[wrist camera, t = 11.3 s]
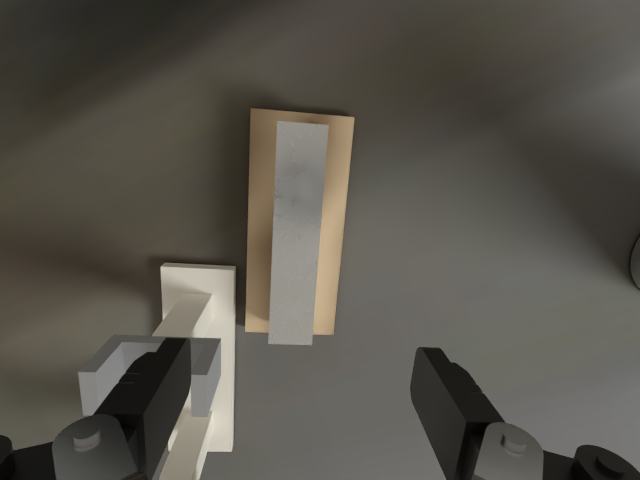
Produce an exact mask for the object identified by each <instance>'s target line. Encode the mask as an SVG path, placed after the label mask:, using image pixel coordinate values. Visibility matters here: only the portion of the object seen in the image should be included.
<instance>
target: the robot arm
mask: <svg viewBox="0 0 640 480" xmlns="http://www.w3.org/2000/svg"><path fill="white" fill-rule="evenodd" d="M631 274H632V278H633V280H634V282H635V284H636V286H637V287H638V288H639V289H640V237H639V239H638V240H637V242H636V244H635V247H634V249H633V252H632V257H631ZM190 386H191V342H190V339H189V338H172V337H167V338H165V339H164V341H163V342H162V343H161V345H160V346H159V348H158V349H157V351H156V352H146V353H145V354H143V355H142V356H140V357H139V358H137V359H136V360H134V361H133V363H132V364H131V365H130V367H129V368H128V369H127V371H126V372H125V374H123V376H122V377H121V378H120V380H119V382H118V383H117V384H116V385H115V386H114V388H113V389H112V390H111V392H110V393H109V394H108V395H107V397H106V398H105V399H104V401H103V402H102V403H101V405H100V406H99V407H98V409H97V410H96V411H95V413H94V414H93V415H92V416H88V417H85V418H82V419H80V420H77V421H75V422H73V423H72V424H70V425H69V426H67V427H66V428H64V429H63V430H62V431H61V432H60V433H59V434H58V435H57V437H56V438H55V440H54V441H53V442H50V443H46V444H41V445H37V446H32V447H28V448H23V449H19V450H14V451H13V448H12V442H11V440H10V439H9V438H8V437H5V436H2V435H0V480H151V479H152V477H153V475H154V473H155V470H156V468H157V466H158V464H159V461H160V459H161V457H162V454H163V452H164V450H165V448H166V445H167V443H168V441H169V438H170V436H171V434H172V432H173V429H174V427H175V425H176V423H177V420H178V418H179V416H180V413H181V411H182V409H183V407H184V404H185V402H186V400H187V397H188V395H189V391H190ZM410 392H411V399H412V402H413V405H414V407H415V409H416V412H417V414H418V416H419V418H420V421H421V423H422V425H423V428H424V430H425V432H426V434H427V437H428V439H429V441H430V443H431V446H432V448H433V450H434V452H435V455H436V457H437V459H438V461H439V464H440V466H441V468H442V470H443V473H444V475H445V477H446V479H447V480H640V473H639V472H638V471H637V470H636V469H635V468H634V467H633V466H632V465H631V464H630V463H629V462H627V461H626V460H624V459H623V458H622V457H620V456H618V455H617V454H615V453H613V452H611V451H609V450H606V449H604V448H601V447H598V446H594V445H582V446H580V447H578V448H577V450H576V453H575V456H574V459H573V458H570V457H566V456H562V455H558V454H555V453H551V452H547V451H544V450H542V448H541V446H540V444H539V443H538V442H537V441H536V440H535V438H534V437H532V436H531V435H530V434H529V433H527V432H526V431H524V430H523V429H521V428H519V427H517V426H514V425H512V424H508V423H505V421H504V420H503V419H502V417H501V416H500V415H499V413H498V412H497V410H496V409H495V408H494V406H493V405H492V404H491V402H490V401H489V400H488V398H487V397H486V396H485V394H483V393H482V390H481V389H480V388H479V386H478V385H476V382H475V381H474V380H473V378H472V377H471V376H470V374H469V373H468V372H467V371H466V370H464V369H463V368H462V367H460V366H459V365H458V364H456V363H451V362H450V361H449V359H448V358H447V357H446V355H445V354H444V352H443V351H442V350H441V349H440V348H429V347H419V348H418V349H417V351H416V355H415V361H414V367H413V373H412V379H411V385H410Z"/></svg>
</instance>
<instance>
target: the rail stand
mask: <svg viewBox="0 0 640 480" xmlns="http://www.w3.org/2000/svg"><path fill="white" fill-rule="evenodd" d="M161 289H162V312H163V321H162V322H161V324H160V325H159V326H158V328H157V329H156V330H155V332H154V333H153V334H152V336H133V335H113V336H112V337H111V338H110V339H109V340H108V341H107V342H106V343H105V344H104V345H103V346H102V348H101V349H100V350H99V351H98V352H97V353H96V354H95V355H94V356H93V357H92V358H91V359H90V360H89V361H88V362H87V363H86V364H85V365H84V366H83V367H82V368H81V370H80V371H79V372H78V375H79V384H80V392H81V401H82V409H83V415H93V414H94V413H95V411H96V410H97V409H98V407H99V406H100V405H101V403H102V402H103V401H104V399H105V398H106V397H107V395H108V394H109V393H110V392H111V390H112V389H113V388H114V386H115V385H116V384H117V383H118V382H119V380H120V378H121V377H122V376H123V374H125V372H126V371H127V369H128V368H129V367H130V365H131V364H132V363H133V361H134V360H136V359H137V358H139V357H140V356H142V355H143V354H145V353H146V352H156V351H157V349H158V348H159V346H160V345H161V343H162V342H163V341H164V339H165V338H167V337H172V338H189V339H190V342H191V386H190V391H189V395H188V397H187V400H186V402H185V404H184V407H183V409H182V411H181V413H180V416H179V418H178V420H177V423H176V425H175V427H174V429H173V432H172V434H171V436H170V438H169V441H168V448H169V451H170V453H169V455H168V458H167V460H166V463H165V465H164V468H163V470H162V473H161V475H160V477H159V480H199V478H200V475H201V471H202V468H203V464H204V461H205V458H206V454H207V451H218V452H232V447H233V429H234V365H235V301H236V266H222V265H202V264H182V263H164V264H163V265H162V266H161Z"/></svg>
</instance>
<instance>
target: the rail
mask: <svg viewBox="0 0 640 480" xmlns="http://www.w3.org/2000/svg"><path fill="white" fill-rule="evenodd" d="M328 128H329V125H322V124H310V123H297V122H285V121H277V139H276V164H275V190H274V215H273V240H272V265H271V290H270V315H269V340H268V344H294V345H312V337H313V324H314V311H315V298H316V285H317V272H318V258H319V245H320V232H321V219H322V206H323V193H324V180H325V167H326V154H327V141H328Z"/></svg>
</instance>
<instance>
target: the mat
mask: <svg viewBox="0 0 640 480" xmlns="http://www.w3.org/2000/svg"><path fill="white" fill-rule="evenodd" d="M354 118H355V117H346V116H335V115H324V114H312V113H301V112H290V111H278V110H267V109H256V108H251V114H250V155H249V196H248V238H247V279H246V321H245V332H266V333H269V315H270V290H271V265H272V240H273V215H274V190H275V164H276V139H277V121H285V122H297V123H310V124H322V125H329V128H328V141H327V154H326V167H325V180H324V193H323V206H322V219H321V232H320V245H319V258H318V272H317V285H316V298H315V311H314V324H313V334H324V335H333V332H334V322H335V312H336V302H337V292H338V281H339V271H340V261H341V251H342V241H343V230H344V220H345V210H346V200H347V189H348V179H349V169H350V159H351V149H352V138H353V128H354Z"/></svg>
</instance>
